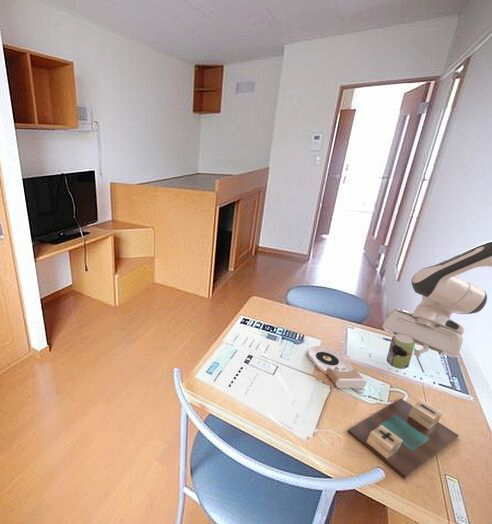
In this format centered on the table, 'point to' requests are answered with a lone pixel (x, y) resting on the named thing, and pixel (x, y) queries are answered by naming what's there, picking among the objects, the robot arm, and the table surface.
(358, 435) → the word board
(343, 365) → the record player
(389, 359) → the beverage can
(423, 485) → the table surface
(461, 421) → the table surface
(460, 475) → the table surface
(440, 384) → the table surface
